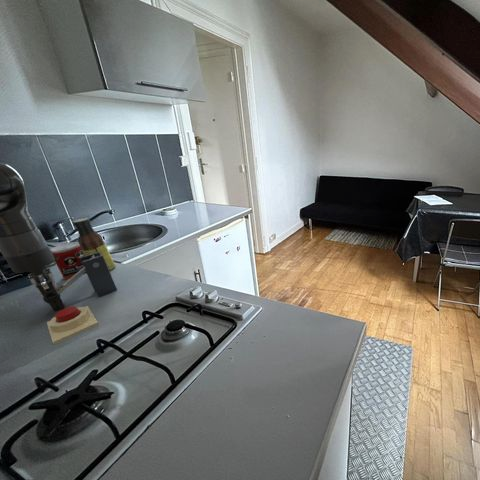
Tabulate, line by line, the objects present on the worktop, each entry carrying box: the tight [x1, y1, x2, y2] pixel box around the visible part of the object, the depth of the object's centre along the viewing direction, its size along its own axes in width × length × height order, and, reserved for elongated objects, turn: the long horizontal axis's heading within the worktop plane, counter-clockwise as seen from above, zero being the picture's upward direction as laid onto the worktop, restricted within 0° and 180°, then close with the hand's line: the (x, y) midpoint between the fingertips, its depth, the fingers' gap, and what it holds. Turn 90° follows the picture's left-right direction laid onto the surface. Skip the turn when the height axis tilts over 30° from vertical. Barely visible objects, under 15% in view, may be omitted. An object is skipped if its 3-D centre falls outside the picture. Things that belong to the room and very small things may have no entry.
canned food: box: [49, 241, 87, 281], centre depth 89 cm, size 8×8×11 cm
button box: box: [46, 305, 100, 345], centre depth 63 cm, size 11×8×4 cm
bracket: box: [79, 252, 118, 298], centre depth 75 cm, size 11×9×13 cm
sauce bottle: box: [72, 217, 116, 272], centre depth 87 cm, size 6×6×20 cm
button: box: [54, 305, 80, 323], centre depth 62 cm, size 4×4×2 cm
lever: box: [42, 255, 95, 304], centre depth 71 cm, size 15×3×3 cm
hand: (58, 306), depth 70 cm, fingers closed on lever, 3 cm apart
